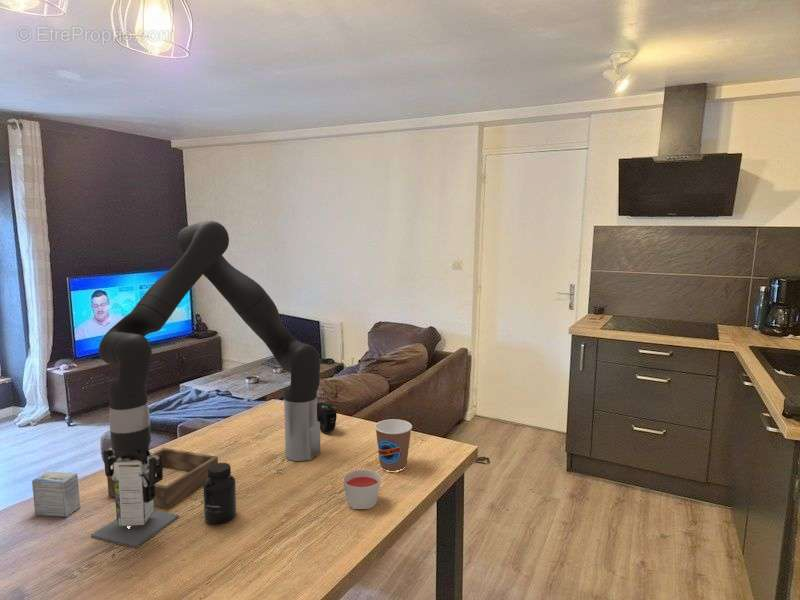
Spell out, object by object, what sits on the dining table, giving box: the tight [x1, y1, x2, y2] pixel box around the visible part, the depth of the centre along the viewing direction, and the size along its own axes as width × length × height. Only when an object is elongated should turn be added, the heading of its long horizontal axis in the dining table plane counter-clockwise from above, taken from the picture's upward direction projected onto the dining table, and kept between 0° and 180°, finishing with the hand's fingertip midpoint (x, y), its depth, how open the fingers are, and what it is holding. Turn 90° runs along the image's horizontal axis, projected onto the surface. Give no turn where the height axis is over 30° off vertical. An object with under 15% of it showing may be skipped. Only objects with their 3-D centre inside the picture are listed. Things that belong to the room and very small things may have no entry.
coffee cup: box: [374, 418, 413, 471], centre depth 137 cm, size 10×10×12 cm
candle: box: [342, 468, 382, 510], centre depth 118 cm, size 9×9×6 cm
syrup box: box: [114, 450, 156, 526], centre depth 108 cm, size 6×6×14 cm
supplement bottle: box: [203, 462, 237, 526], centre depth 112 cm, size 7×7×12 cm
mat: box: [90, 509, 180, 549], centre depth 108 cm, size 12×12×1 cm
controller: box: [317, 402, 338, 433], centre depth 163 cm, size 4×12×10 cm, turn 32°
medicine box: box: [31, 471, 81, 518], centre depth 114 cm, size 8×4×9 cm, turn 84°
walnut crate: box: [106, 447, 219, 510], centre depth 127 cm, size 18×18×5 cm
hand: (135, 497), depth 108 cm, fingers closed on syrup box, 7 cm apart
